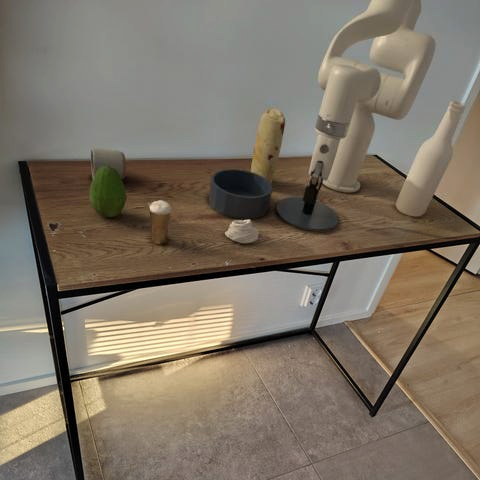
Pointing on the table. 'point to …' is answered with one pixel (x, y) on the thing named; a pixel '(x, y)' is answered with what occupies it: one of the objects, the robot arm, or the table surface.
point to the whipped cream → (242, 231)
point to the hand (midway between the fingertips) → (311, 194)
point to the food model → (268, 143)
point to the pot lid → (306, 214)
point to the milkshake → (159, 220)
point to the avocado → (107, 192)
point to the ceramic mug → (108, 160)
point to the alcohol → (430, 165)
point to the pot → (240, 193)
